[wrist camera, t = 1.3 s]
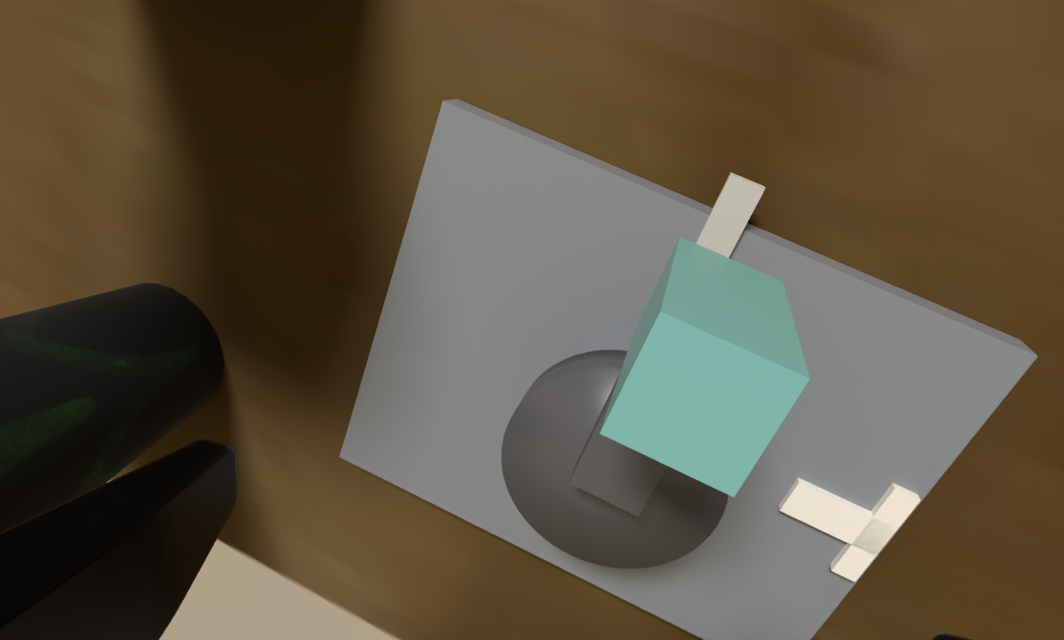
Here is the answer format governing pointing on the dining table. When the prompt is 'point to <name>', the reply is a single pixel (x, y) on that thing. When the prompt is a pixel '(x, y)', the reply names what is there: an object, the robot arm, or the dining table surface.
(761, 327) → the handle
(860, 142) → the dining table surface
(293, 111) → the dining table surface
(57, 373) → the cup
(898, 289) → the base
